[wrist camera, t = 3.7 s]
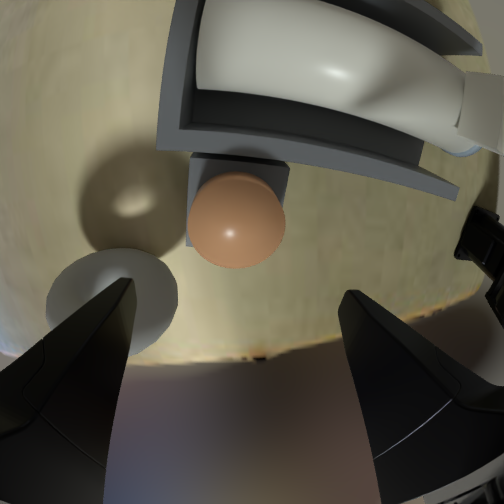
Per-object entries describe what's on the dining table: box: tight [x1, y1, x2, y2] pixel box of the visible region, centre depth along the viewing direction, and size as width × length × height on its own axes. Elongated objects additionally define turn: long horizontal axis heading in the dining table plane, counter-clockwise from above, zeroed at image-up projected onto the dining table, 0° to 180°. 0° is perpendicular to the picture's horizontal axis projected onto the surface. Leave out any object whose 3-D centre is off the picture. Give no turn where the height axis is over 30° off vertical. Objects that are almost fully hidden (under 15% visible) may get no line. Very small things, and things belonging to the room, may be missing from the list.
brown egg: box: [187, 171, 285, 268], centre depth 14 cm, size 4×4×6 cm
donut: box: [46, 248, 178, 356], centre depth 16 cm, size 10×4×10 cm, turn 87°
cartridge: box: [196, 0, 504, 157], centre depth 10 cm, size 17×6×9 cm, turn 82°
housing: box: [156, 0, 482, 247], centre depth 13 cm, size 18×18×6 cm
